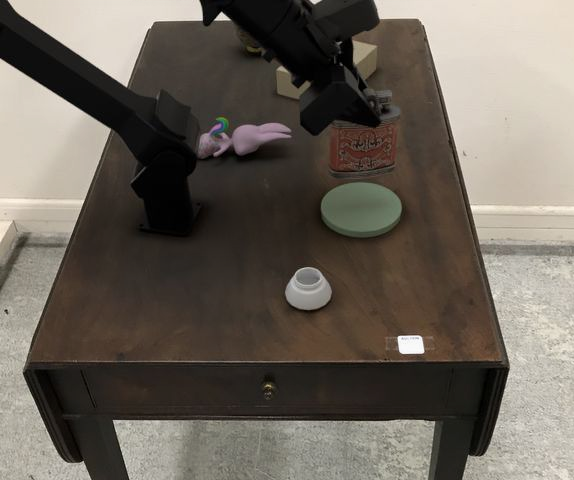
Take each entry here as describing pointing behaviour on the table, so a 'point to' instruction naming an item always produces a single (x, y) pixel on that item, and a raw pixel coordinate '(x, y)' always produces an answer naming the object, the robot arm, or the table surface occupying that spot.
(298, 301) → the white jar
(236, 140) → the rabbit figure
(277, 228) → the table surface
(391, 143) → the lighter
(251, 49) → the cup
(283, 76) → the hollow beige frame
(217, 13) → the robot arm
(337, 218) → the plate
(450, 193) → the table surface
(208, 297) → the table surface
